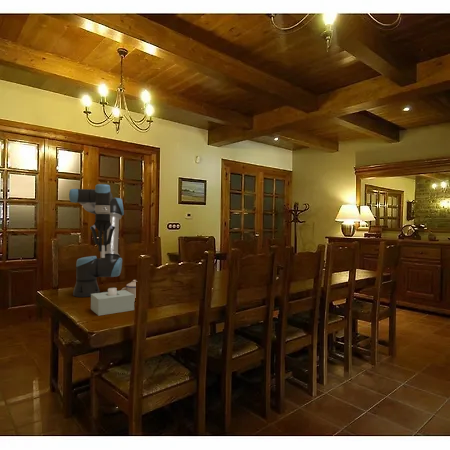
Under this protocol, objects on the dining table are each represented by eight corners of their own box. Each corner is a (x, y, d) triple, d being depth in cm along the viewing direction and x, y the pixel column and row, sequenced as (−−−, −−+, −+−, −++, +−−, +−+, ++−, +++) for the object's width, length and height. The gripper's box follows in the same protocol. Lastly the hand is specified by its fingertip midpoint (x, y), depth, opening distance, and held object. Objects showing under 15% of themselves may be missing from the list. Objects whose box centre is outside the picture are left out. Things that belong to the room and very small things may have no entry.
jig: (90, 309, 177) (90, 293, 177) (124, 304, 187) (124, 289, 187) (98, 315, 166) (98, 299, 165) (134, 310, 176) (134, 294, 176)
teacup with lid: (143, 298, 202) (143, 278, 202) (140, 302, 193) (140, 281, 193) (122, 298, 201) (123, 278, 201) (119, 302, 192) (119, 281, 192)
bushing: (106, 309, 177) (106, 288, 177) (115, 308, 180) (115, 287, 179) (109, 311, 173) (109, 289, 173) (117, 309, 176) (117, 288, 176)
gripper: (91, 213, 174) (91, 259, 175) (117, 213, 182) (117, 257, 183) (88, 213, 180) (88, 257, 181) (112, 213, 188) (112, 256, 189)
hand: (102, 257), depth 182 cm, fingers closed
